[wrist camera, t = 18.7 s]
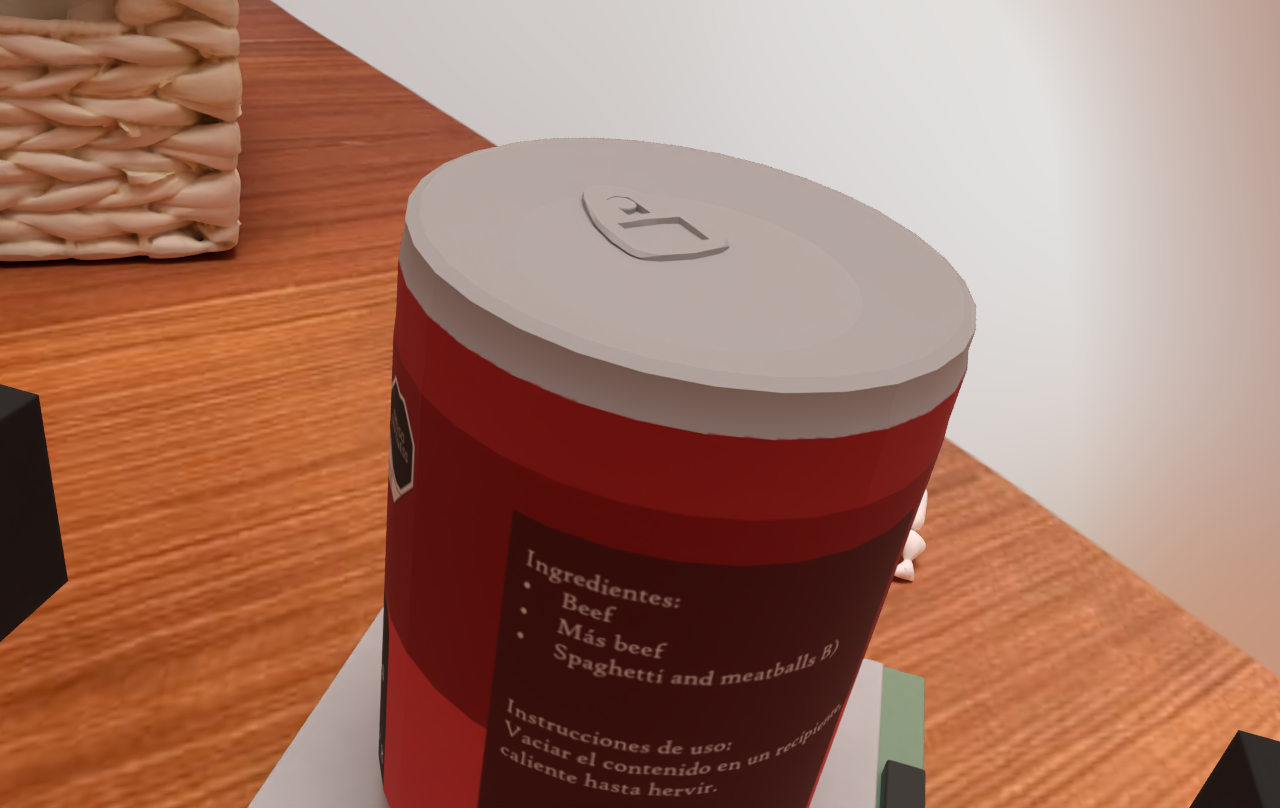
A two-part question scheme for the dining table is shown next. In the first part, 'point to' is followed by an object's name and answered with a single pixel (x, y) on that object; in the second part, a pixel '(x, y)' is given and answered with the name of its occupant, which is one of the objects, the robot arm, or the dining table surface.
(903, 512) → the canned food
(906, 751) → the scale
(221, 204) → the basket
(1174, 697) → the dining table surface
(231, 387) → the dining table surface
